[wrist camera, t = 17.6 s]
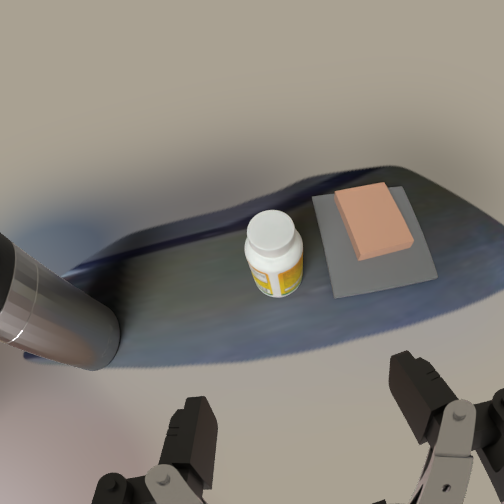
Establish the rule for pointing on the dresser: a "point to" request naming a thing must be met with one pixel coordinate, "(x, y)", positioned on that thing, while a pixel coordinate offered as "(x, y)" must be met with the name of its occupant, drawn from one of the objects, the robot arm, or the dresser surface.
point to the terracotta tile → (372, 221)
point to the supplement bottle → (274, 253)
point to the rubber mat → (377, 268)
